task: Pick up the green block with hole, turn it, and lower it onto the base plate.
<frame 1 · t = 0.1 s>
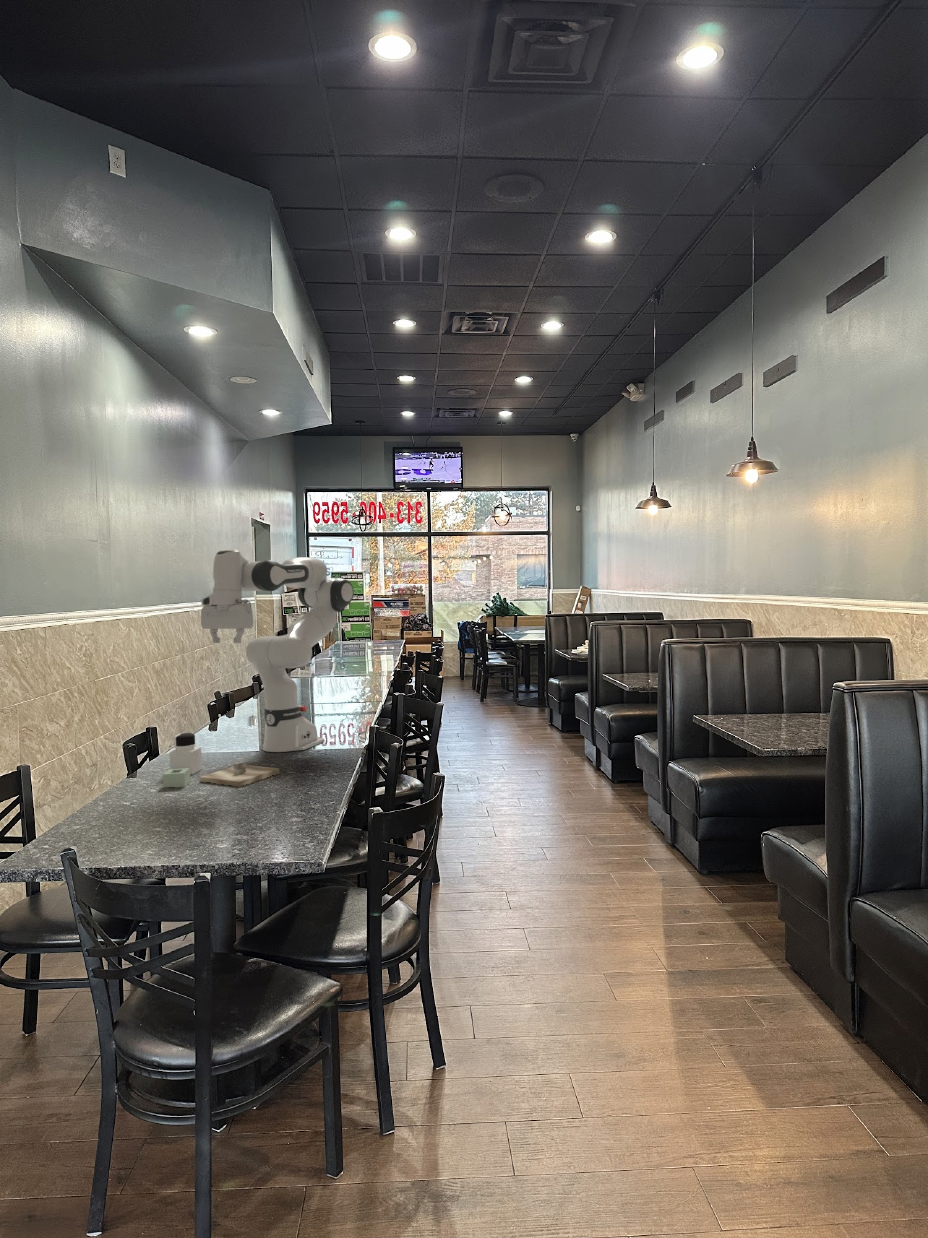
hand: (226, 643, 252), 39 cm above the table, tool pointing down, fingers open, 8 cm apart
base plate: (240, 777, 235), on the table
green block with hole: (177, 784, 230), on the table
medicine bottle: (186, 772, 245), on the table
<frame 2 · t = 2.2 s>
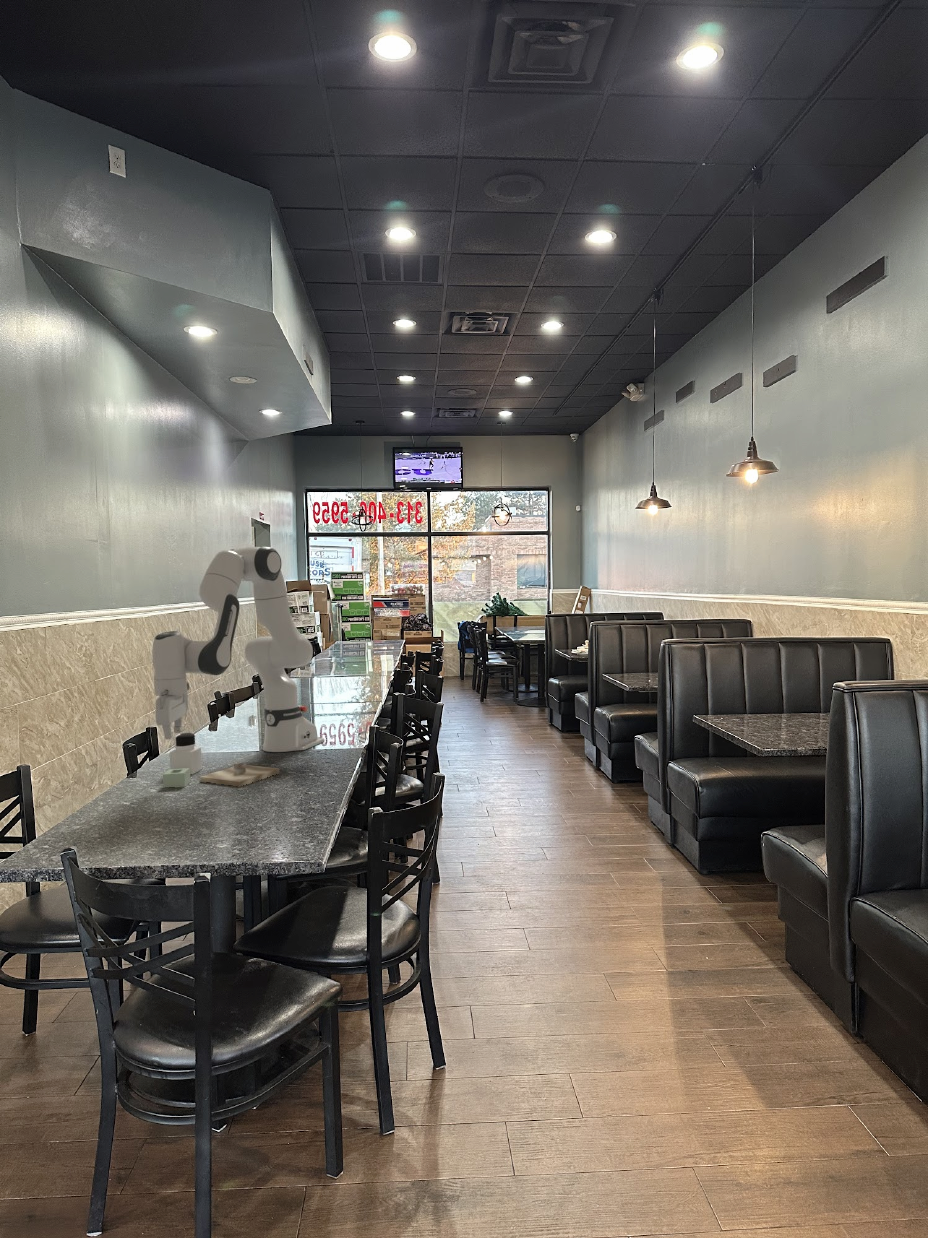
hand: (173, 735, 229), 15 cm above the table, tool pointing down, fingers open, 8 cm apart
nothing on the table moved.
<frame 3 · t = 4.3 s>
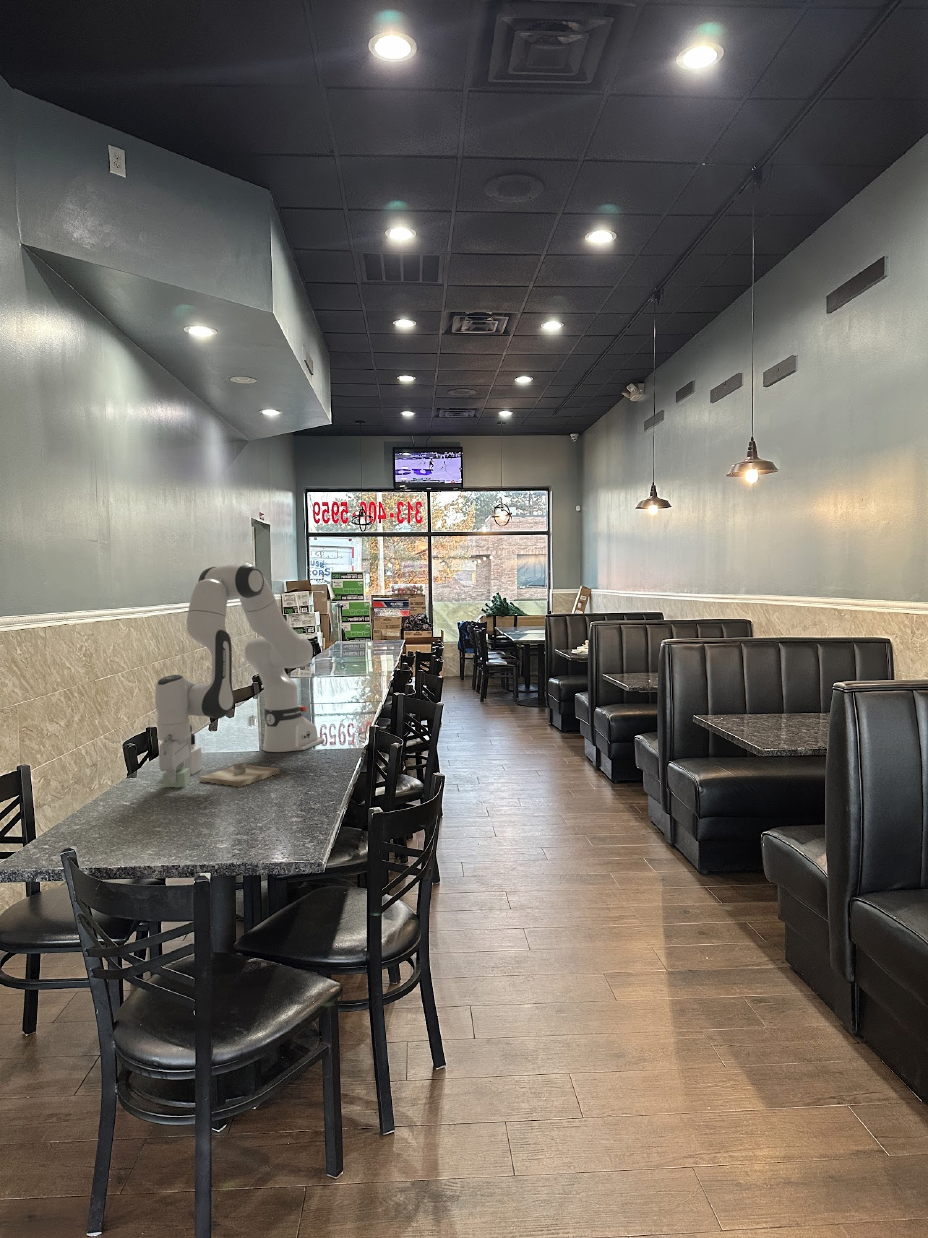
hand: (176, 779, 230), 2 cm above the table, tool pointing down, fingers closed on green block with hole, 6 cm apart
green block with hole: (177, 784, 230), on the table, touching gripper
everything else where it was.
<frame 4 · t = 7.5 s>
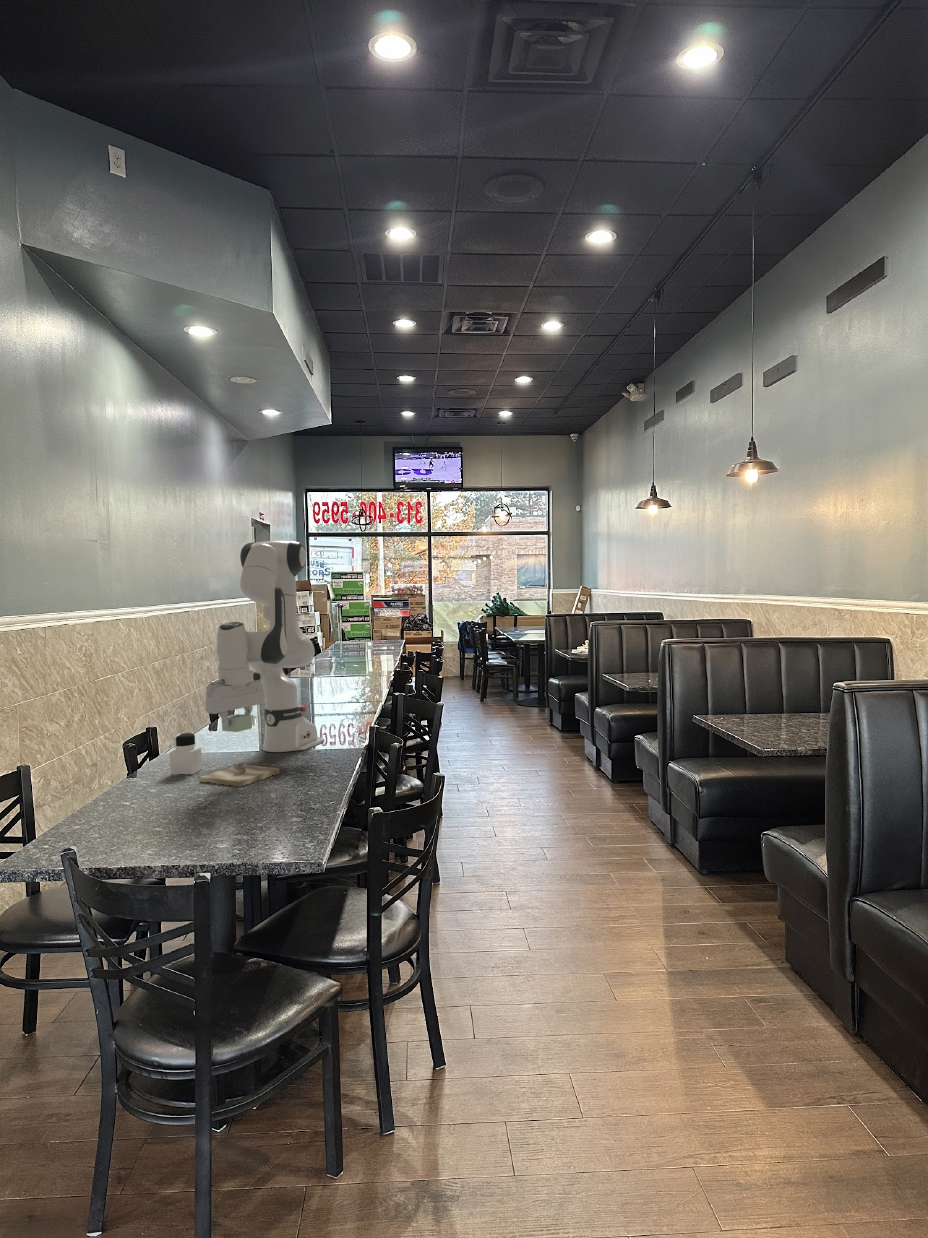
hand: (236, 724, 234), 16 cm above the table, tool pointing down, fingers closed on green block with hole, 6 cm apart
green block with hole: (237, 729, 234), point 14 cm above the table, touching gripper
everything else where it was.
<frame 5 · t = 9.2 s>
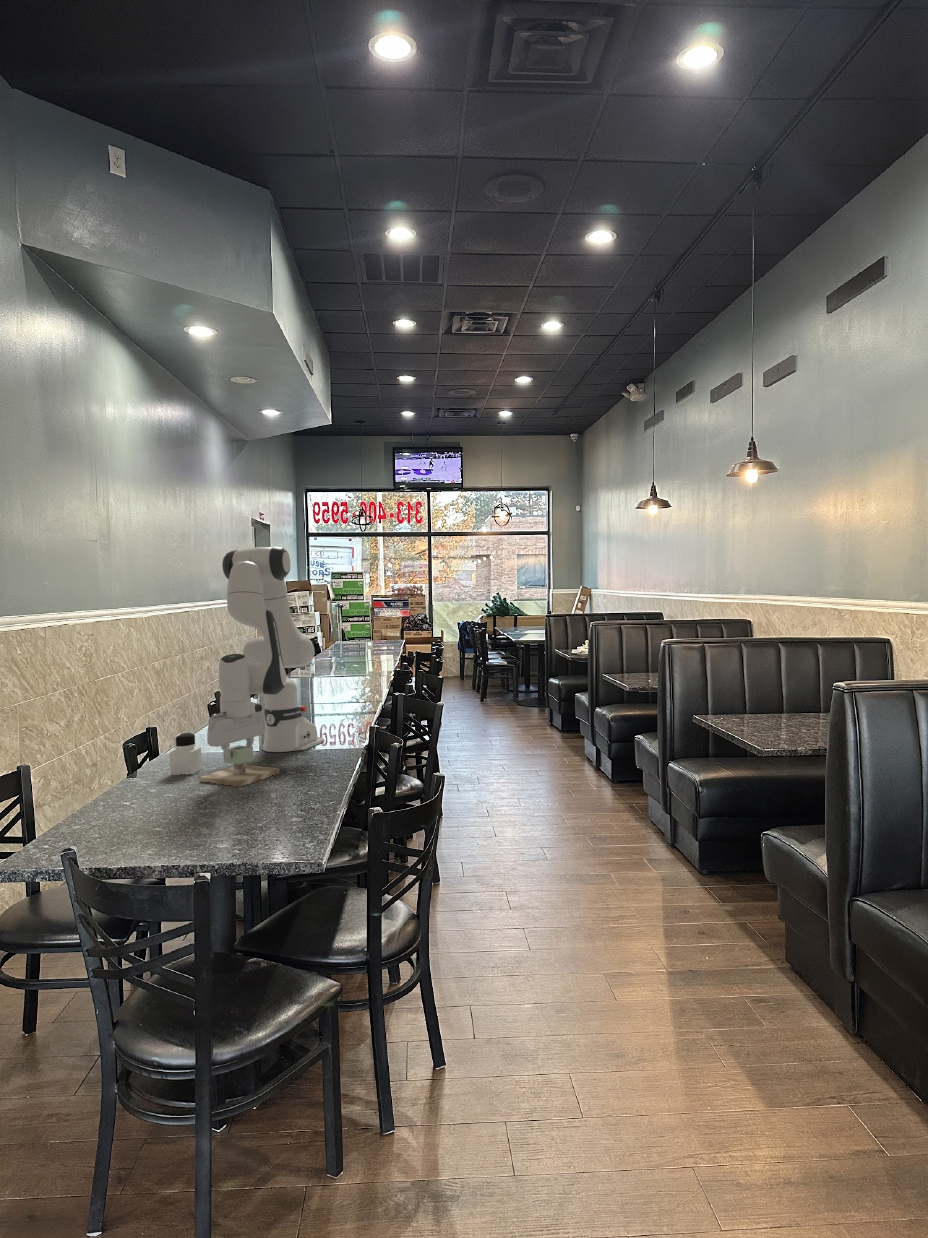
hand: (238, 755, 234), 7 cm above the table, tool pointing down, fingers closed on green block with hole, 6 cm apart
green block with hole: (238, 761, 234), point 5 cm above the table, touching gripper
everything else where it was.
when the fingers open (4 cm above the table, at t = 10.8 s): green block with hole stays where it is, resting on base plate.
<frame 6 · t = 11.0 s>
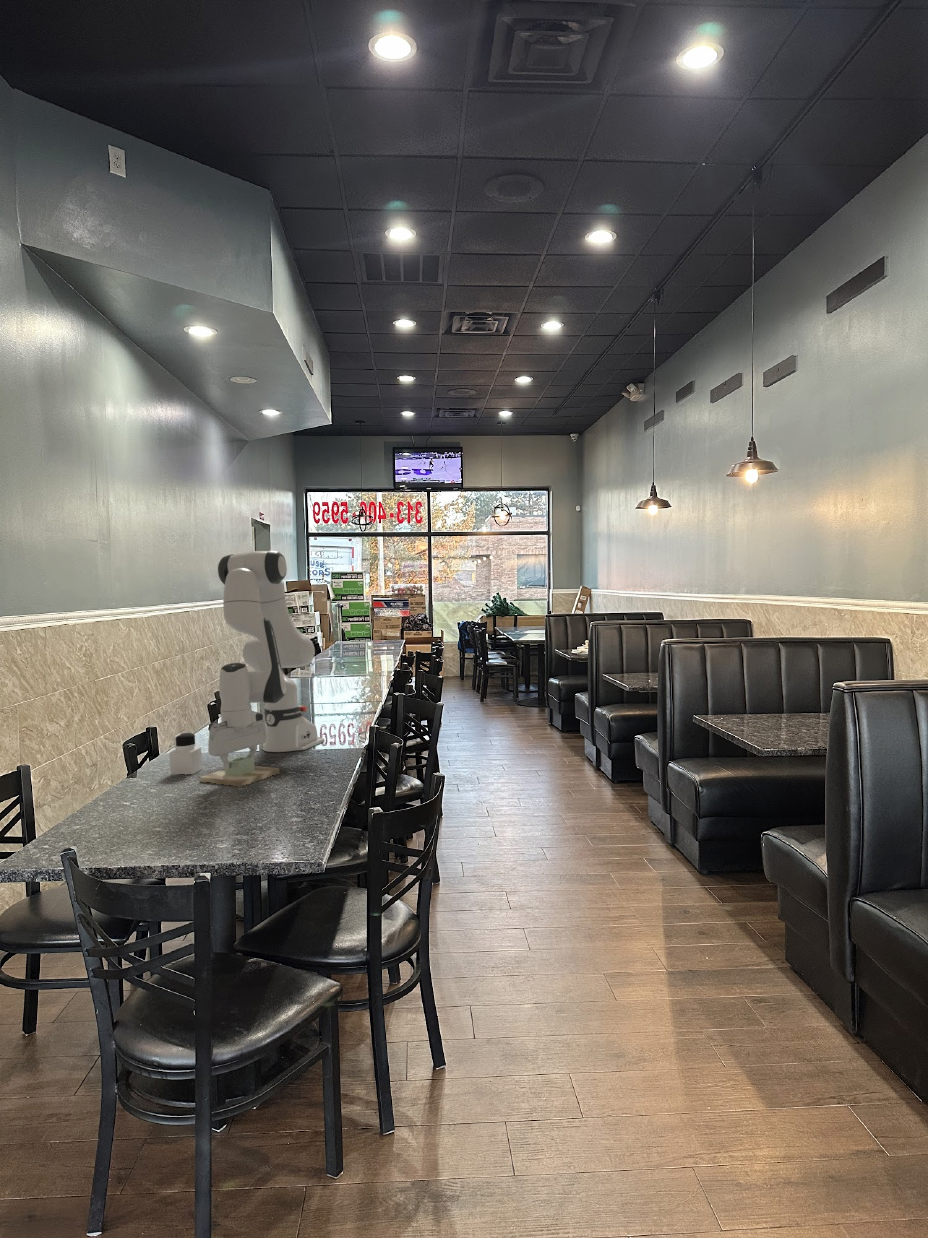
hand: (239, 764, 235), 4 cm above the table, tool pointing down, fingers open, 8 cm apart
green block with hole: (240, 772, 235), point 1 cm above the table, touching base plate
everything else where it was.
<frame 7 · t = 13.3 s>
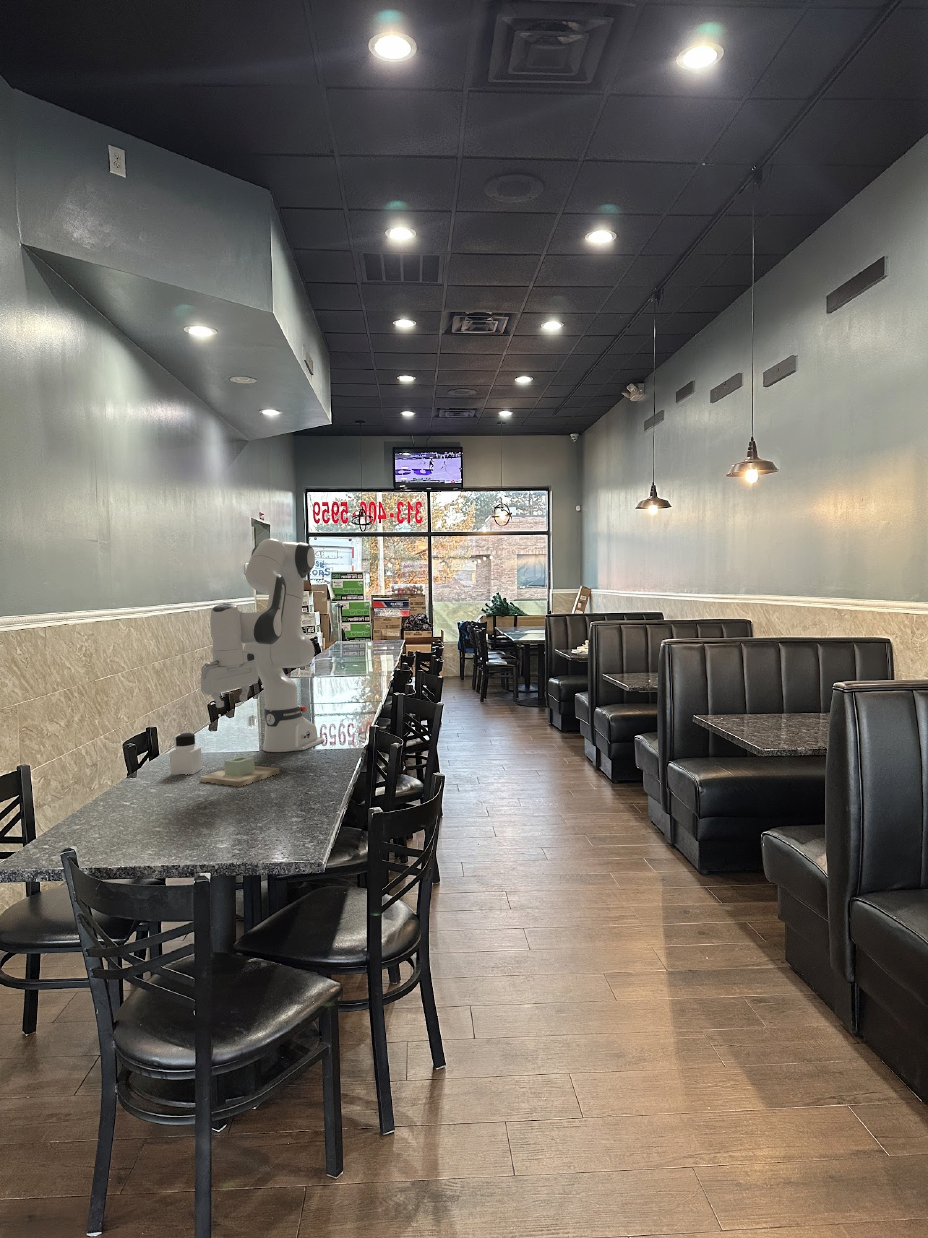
hand: (232, 704, 237), 22 cm above the table, tool pointing down, fingers open, 8 cm apart
nothing on the table moved.
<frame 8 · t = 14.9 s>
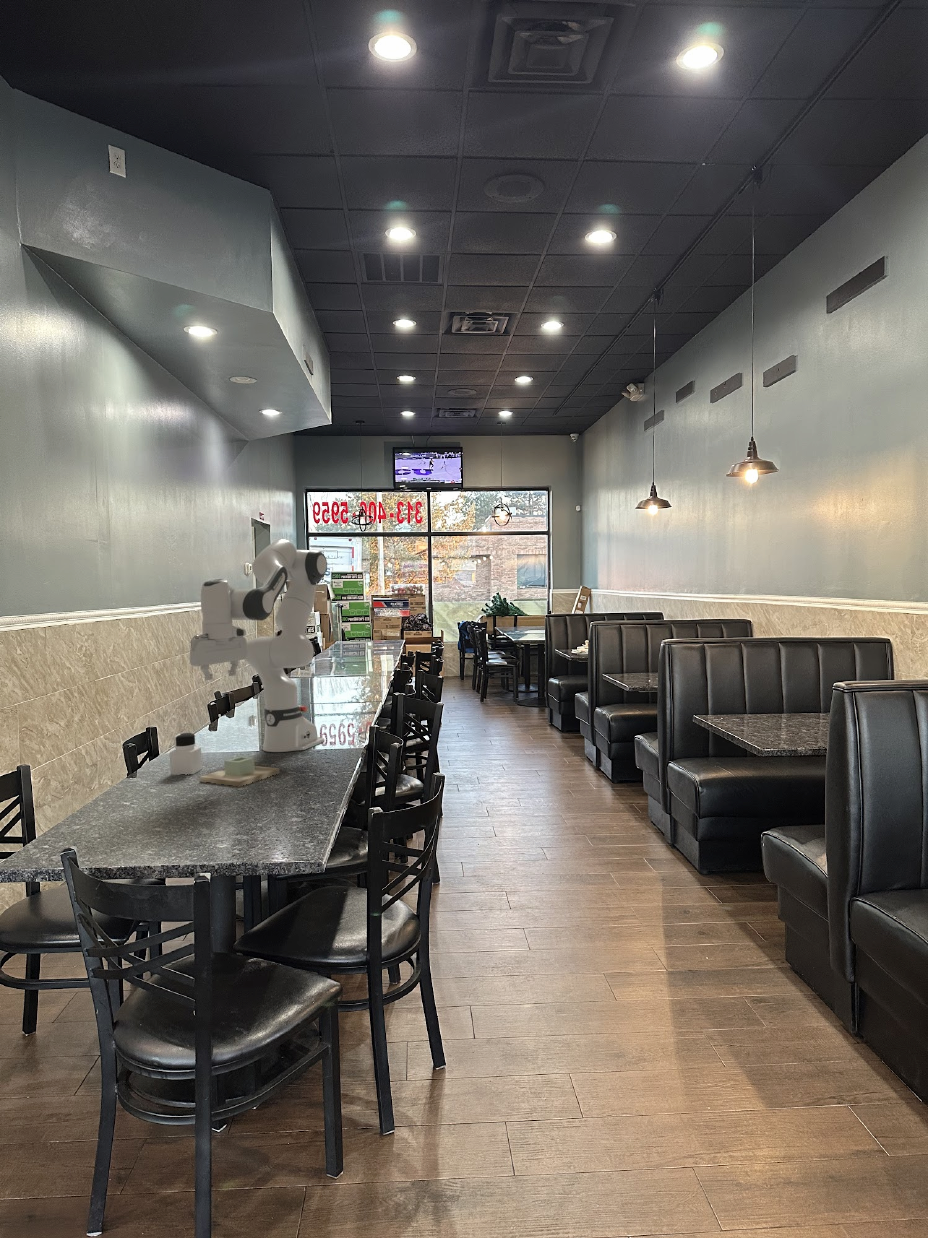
hand: (220, 677, 242), 29 cm above the table, tool pointing down, fingers open, 8 cm apart
nothing on the table moved.
at the end: green block with hole 0.0 cm off-centre on the base plate, point 1.5 cm above the base plate's base; green block with hole tilted 0°; the gripper is holding nothing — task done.
